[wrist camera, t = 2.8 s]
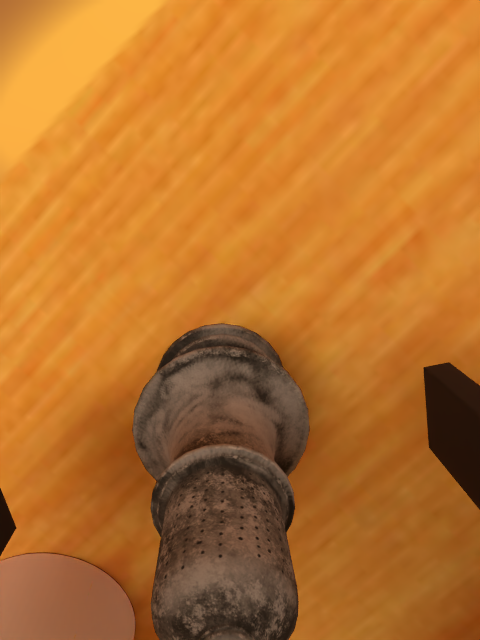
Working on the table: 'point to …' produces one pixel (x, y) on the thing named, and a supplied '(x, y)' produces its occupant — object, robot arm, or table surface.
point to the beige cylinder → (61, 600)
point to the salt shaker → (222, 485)
